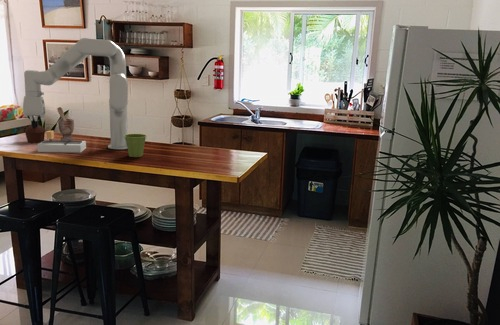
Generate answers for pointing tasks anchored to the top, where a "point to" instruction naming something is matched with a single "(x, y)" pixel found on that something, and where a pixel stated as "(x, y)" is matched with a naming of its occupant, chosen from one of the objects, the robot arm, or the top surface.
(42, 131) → the muffin
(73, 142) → the control panel
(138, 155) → the plant pot
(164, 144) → the top surface
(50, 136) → the slider tab
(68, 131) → the mortar and pestle
